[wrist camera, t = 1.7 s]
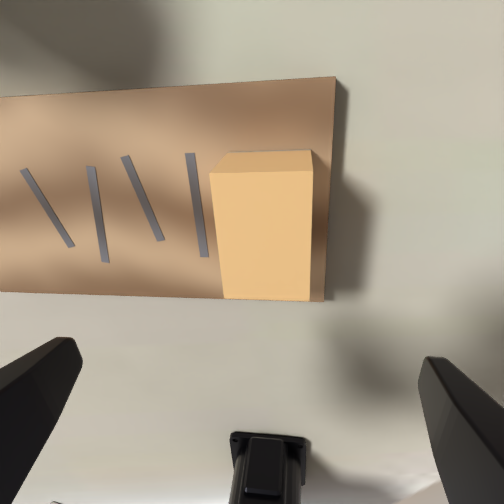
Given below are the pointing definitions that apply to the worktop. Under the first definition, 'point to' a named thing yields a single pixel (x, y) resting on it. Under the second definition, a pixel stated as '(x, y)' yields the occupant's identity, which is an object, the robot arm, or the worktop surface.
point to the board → (144, 182)
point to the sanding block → (264, 223)
